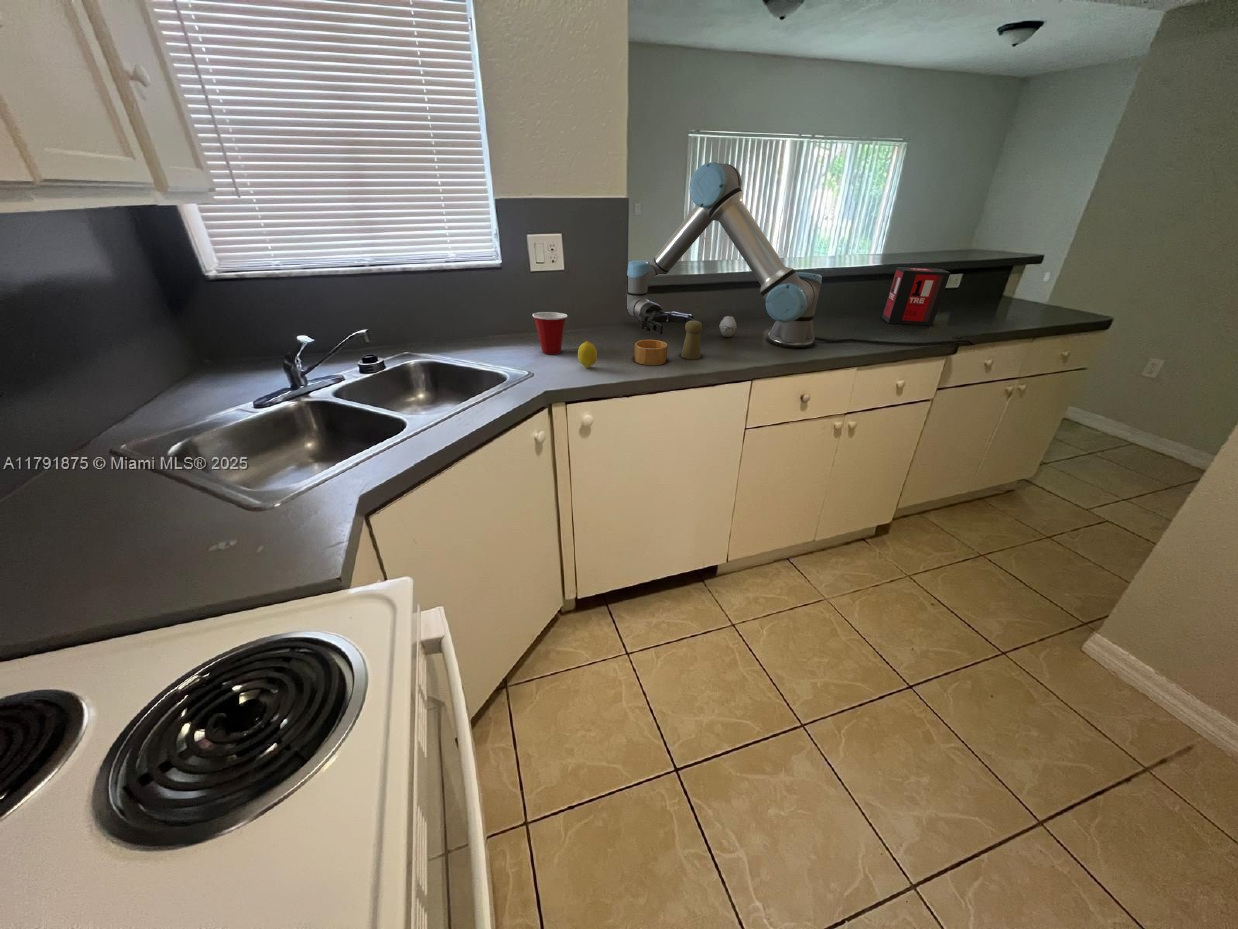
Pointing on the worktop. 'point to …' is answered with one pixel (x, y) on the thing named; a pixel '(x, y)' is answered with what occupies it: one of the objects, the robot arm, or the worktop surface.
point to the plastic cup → (550, 330)
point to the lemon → (587, 354)
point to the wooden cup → (650, 352)
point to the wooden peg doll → (692, 340)
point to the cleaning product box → (915, 295)
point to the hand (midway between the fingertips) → (680, 327)
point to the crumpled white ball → (728, 326)
